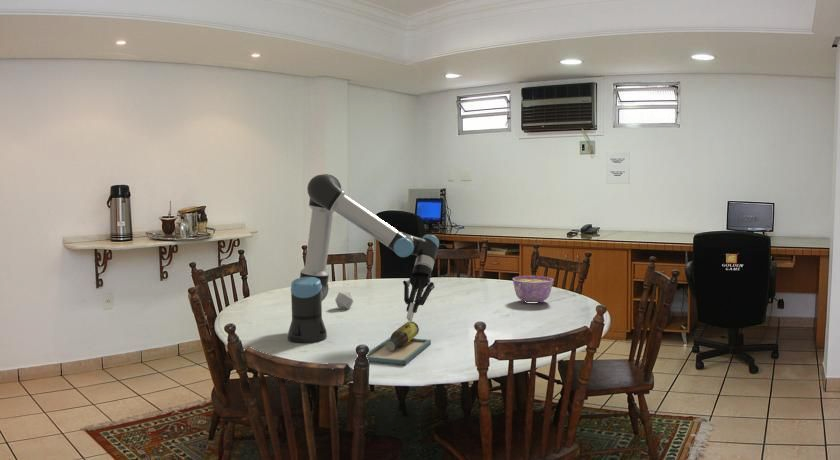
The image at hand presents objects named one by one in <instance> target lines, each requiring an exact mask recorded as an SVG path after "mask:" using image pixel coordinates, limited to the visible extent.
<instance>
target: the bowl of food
mask: <svg viewBox="0 0 840 460" xmlns="http://www.w3.org/2000/svg"><path fill="white" fill-rule="evenodd" d="M512 283H513V288H514V291H515V295H516V297H517V298H518V299H519V300H521V301H523V302H524V301H526V302H541V303H542V302H545V301H546V300H547V299H548V298H549V297H550V294H551V291H552V287H553V283H554V278H552V277H549V276H541V275H518V276H514V277H512Z"/></svg>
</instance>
